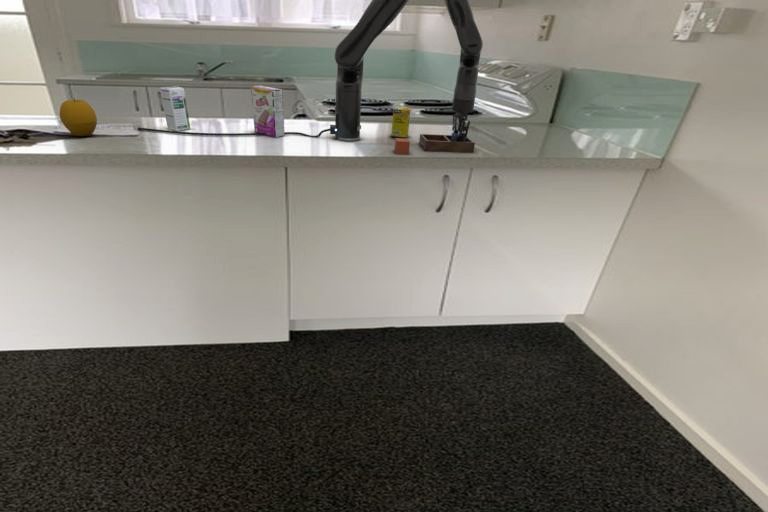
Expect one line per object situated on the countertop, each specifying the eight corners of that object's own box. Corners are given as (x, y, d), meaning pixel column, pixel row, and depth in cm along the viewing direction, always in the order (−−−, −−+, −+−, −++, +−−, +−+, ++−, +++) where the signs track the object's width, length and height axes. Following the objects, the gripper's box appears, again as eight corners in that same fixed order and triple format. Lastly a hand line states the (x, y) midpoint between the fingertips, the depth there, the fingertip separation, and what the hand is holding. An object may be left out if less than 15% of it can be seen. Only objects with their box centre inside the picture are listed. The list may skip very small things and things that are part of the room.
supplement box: (406, 139, 163) (408, 110, 158) (391, 137, 164) (393, 108, 159) (408, 136, 169) (410, 108, 164) (393, 134, 170) (395, 106, 164)
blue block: (453, 147, 153) (454, 135, 151) (450, 144, 157) (451, 132, 155) (464, 147, 154) (466, 135, 152) (461, 145, 158) (463, 133, 156)
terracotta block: (396, 154, 143) (397, 141, 141) (394, 150, 147) (395, 138, 145) (408, 154, 144) (409, 141, 141) (406, 151, 147) (407, 138, 145)
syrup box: (176, 131, 151) (169, 88, 144) (166, 128, 154) (159, 86, 147) (190, 129, 156) (184, 87, 149) (181, 126, 158) (174, 85, 151)
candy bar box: (253, 132, 157) (249, 86, 149) (263, 130, 161) (260, 85, 153) (275, 138, 152) (272, 89, 144) (285, 136, 156) (283, 88, 148)
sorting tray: (424, 150, 149) (425, 140, 148) (419, 143, 159) (420, 133, 157) (473, 152, 152) (475, 142, 150) (464, 145, 161) (466, 135, 160)
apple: (80, 141, 132) (70, 101, 127) (57, 137, 135) (46, 98, 129) (107, 135, 140) (98, 98, 135) (85, 131, 143) (76, 95, 137)
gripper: (448, 94, 153) (442, 141, 161) (459, 99, 141) (452, 150, 149) (468, 95, 154) (461, 141, 162) (480, 100, 142) (472, 151, 150)
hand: (457, 145), depth 155 cm, fingers open, 4 cm apart
